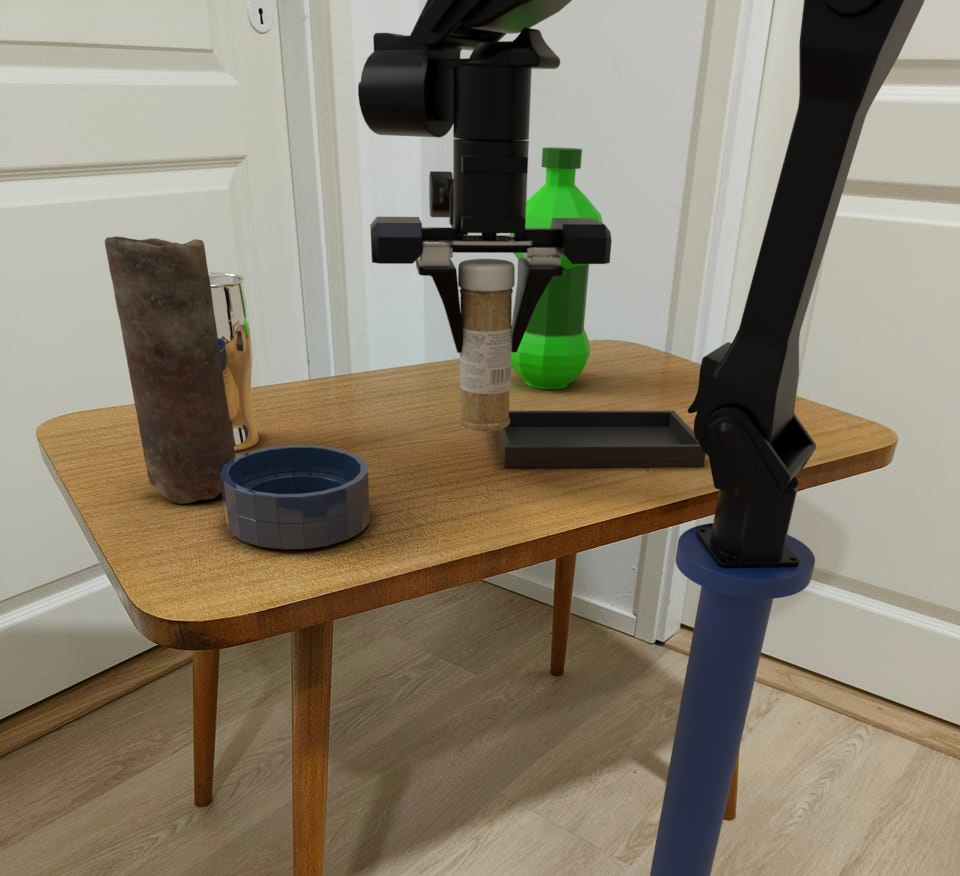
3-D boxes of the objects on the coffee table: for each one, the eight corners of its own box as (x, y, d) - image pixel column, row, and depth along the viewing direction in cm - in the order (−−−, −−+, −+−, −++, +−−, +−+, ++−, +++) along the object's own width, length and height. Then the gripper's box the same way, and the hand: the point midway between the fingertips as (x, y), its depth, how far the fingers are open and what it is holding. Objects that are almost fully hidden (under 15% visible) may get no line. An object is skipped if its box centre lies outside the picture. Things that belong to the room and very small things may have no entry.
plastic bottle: (562, 369, 114) (579, 146, 101) (604, 391, 106) (628, 151, 93) (491, 375, 111) (499, 145, 98) (529, 399, 102) (543, 151, 89)
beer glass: (278, 439, 88) (263, 278, 80) (226, 459, 83) (204, 288, 75) (227, 425, 91) (209, 269, 83) (174, 444, 86) (149, 278, 78)
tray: (703, 466, 85) (707, 446, 84) (504, 467, 83) (505, 447, 82) (671, 429, 95) (674, 410, 93) (491, 429, 93) (492, 410, 92)
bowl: (369, 552, 67) (367, 496, 65) (217, 554, 66) (209, 497, 64) (370, 495, 77) (368, 444, 74) (237, 496, 76) (231, 445, 73)
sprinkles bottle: (495, 415, 81) (498, 256, 74) (519, 429, 78) (525, 263, 71) (449, 421, 79) (448, 258, 73) (472, 436, 76) (473, 267, 69)
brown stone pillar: (134, 485, 77) (87, 232, 67) (211, 466, 81) (179, 226, 71) (175, 512, 72) (132, 245, 62) (255, 491, 77) (227, 238, 66)
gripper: (589, 138, 75) (575, 330, 83) (366, 134, 73) (374, 331, 81) (621, 143, 66) (603, 359, 74) (366, 139, 64) (376, 361, 72)
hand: (486, 351), depth 75 cm, fingers closed on sprinkles bottle, 4 cm apart
